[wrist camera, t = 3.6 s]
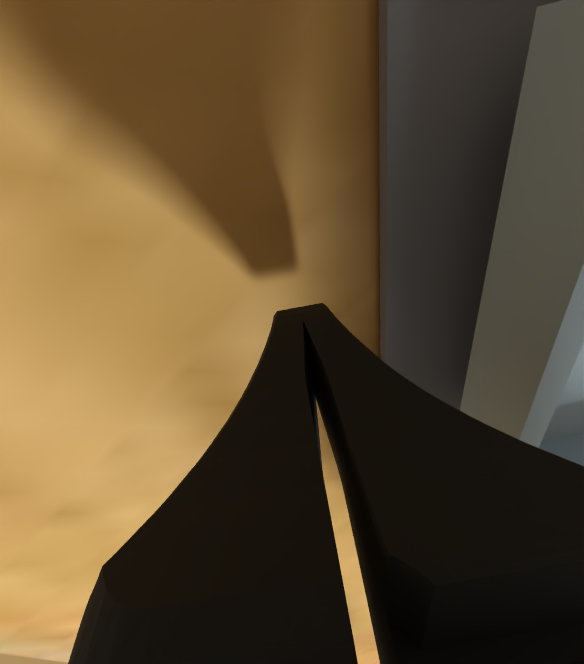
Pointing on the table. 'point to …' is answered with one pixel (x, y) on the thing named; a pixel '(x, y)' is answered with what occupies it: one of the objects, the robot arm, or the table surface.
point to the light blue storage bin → (538, 255)
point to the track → (443, 173)
